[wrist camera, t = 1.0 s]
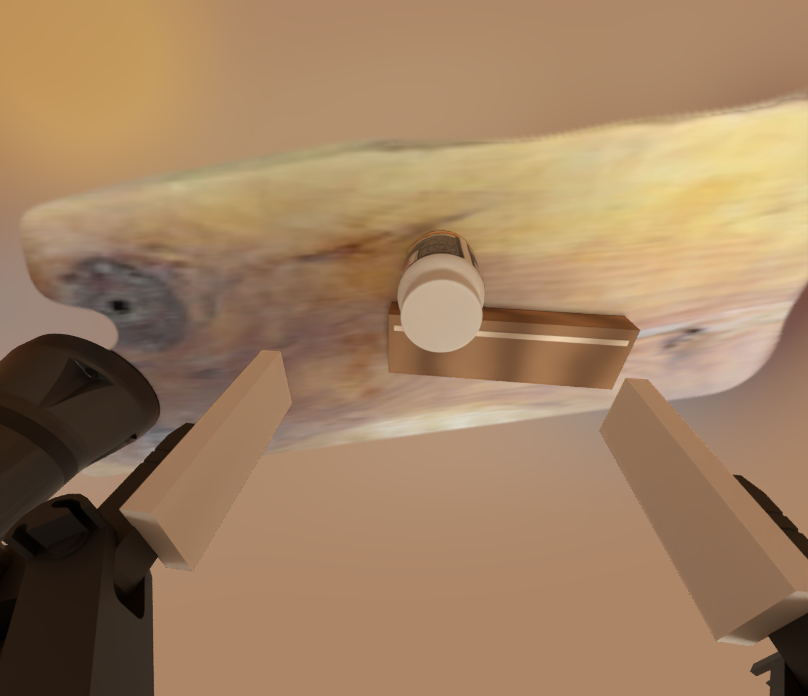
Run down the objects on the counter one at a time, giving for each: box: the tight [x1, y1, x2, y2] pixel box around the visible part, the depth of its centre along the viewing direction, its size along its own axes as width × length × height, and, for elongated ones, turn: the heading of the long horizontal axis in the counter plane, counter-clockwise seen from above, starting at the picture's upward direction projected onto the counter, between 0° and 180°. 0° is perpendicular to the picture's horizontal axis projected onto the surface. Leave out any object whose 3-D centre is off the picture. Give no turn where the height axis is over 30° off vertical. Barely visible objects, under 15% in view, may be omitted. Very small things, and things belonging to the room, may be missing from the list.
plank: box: [388, 302, 640, 389], centre depth 28 cm, size 20×6×3 cm, turn 89°
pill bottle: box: [397, 231, 485, 352], centre depth 22 cm, size 6×6×10 cm
